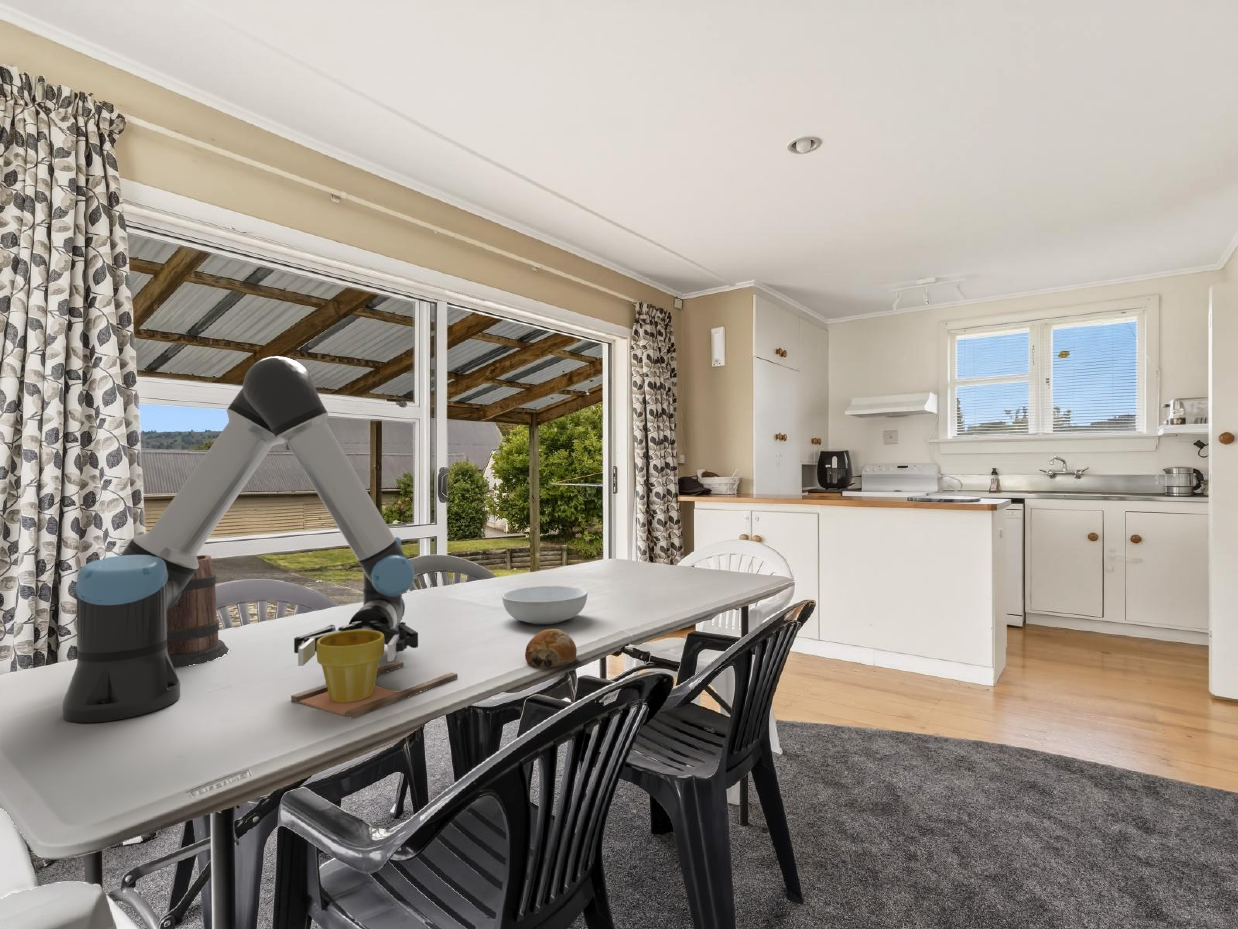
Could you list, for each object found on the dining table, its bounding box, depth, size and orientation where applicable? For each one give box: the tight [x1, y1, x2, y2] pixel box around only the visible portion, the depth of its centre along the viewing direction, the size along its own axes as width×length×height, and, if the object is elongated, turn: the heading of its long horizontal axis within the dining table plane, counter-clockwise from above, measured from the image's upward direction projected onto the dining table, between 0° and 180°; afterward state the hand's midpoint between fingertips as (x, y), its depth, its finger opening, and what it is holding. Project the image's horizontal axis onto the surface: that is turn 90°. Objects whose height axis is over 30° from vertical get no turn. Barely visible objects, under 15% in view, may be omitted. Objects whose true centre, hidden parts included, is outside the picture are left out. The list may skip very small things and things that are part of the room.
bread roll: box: [524, 628, 578, 669], centre depth 131 cm, size 10×10×8 cm
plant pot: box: [316, 630, 386, 703], centre depth 110 cm, size 10×10×10 cm
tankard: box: [167, 554, 230, 669], centre depth 138 cm, size 24×17×20 cm
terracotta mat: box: [299, 685, 398, 716], centre depth 110 cm, size 11×11×1 cm
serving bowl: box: [501, 585, 588, 625], centre depth 165 cm, size 21×21×7 cm
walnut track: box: [290, 660, 459, 719], centre depth 115 cm, size 22×16×1 cm
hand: (345, 655), depth 107 cm, fingers open, 13 cm apart
